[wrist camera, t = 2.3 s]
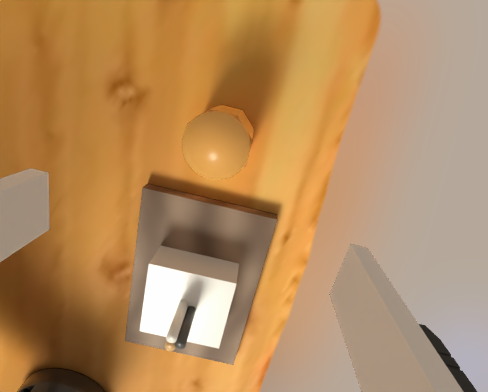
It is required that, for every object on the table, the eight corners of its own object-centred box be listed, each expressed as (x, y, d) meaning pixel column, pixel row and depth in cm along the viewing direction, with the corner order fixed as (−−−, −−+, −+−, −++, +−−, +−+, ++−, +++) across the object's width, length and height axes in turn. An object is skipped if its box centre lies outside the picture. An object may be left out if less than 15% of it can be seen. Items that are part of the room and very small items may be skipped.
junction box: (151, 307, 39) (121, 367, 31) (160, 245, 36) (129, 293, 27) (222, 324, 39) (212, 387, 31) (239, 263, 36) (232, 316, 27)
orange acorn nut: (196, 152, 33) (177, 171, 25) (205, 100, 31) (187, 104, 23) (245, 164, 33) (241, 186, 26) (257, 113, 31) (257, 121, 24)
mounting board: (129, 332, 43) (125, 340, 41) (147, 183, 34) (142, 187, 33) (234, 355, 43) (233, 364, 42) (276, 214, 35) (277, 219, 34)
